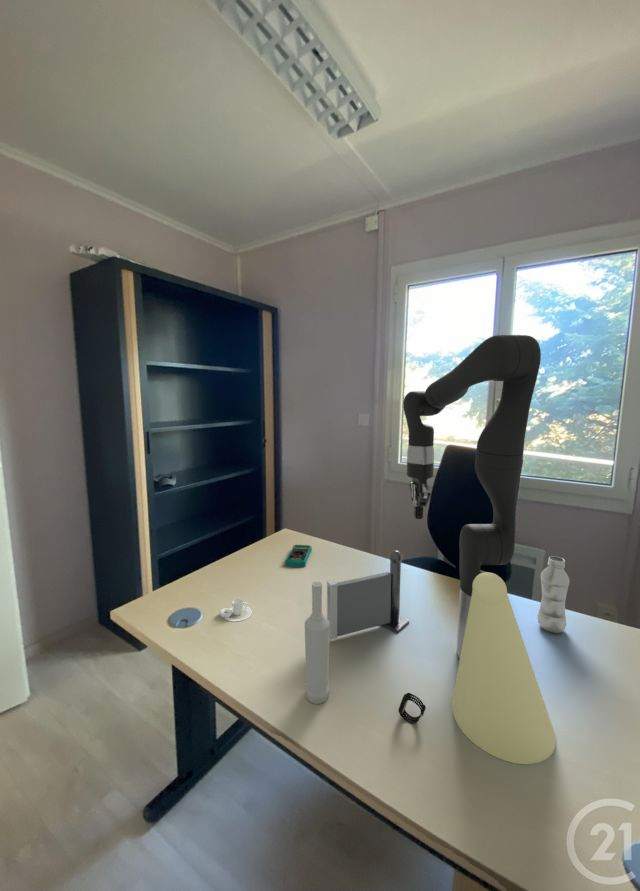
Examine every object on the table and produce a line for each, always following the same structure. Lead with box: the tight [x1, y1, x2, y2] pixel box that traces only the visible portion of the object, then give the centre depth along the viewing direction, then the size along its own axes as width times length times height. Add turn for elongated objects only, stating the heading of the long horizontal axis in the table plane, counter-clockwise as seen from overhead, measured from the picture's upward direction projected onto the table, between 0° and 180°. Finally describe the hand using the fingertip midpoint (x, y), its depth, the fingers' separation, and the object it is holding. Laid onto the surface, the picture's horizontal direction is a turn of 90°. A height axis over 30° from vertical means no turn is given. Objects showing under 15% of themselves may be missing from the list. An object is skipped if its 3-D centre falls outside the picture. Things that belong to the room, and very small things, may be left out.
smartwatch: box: [398, 692, 426, 725], centre depth 72 cm, size 4×5×5 cm
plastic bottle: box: [537, 555, 571, 634], centre depth 99 cm, size 6×7×20 cm
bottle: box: [304, 581, 330, 705], centre depth 77 cm, size 5×5×25 cm
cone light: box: [451, 571, 557, 765], centre depth 68 cm, size 25×18×35 cm
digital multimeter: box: [284, 544, 313, 568], centre depth 144 cm, size 8×15×3 cm, turn 171°
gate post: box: [381, 549, 410, 634], centre depth 101 cm, size 6×6×21 cm
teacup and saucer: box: [219, 598, 253, 623], centre depth 108 cm, size 9×8×4 cm
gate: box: [326, 571, 391, 641], centre depth 98 cm, size 18×2×15 cm, turn 112°
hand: (418, 518), depth 109 cm, fingers closed
